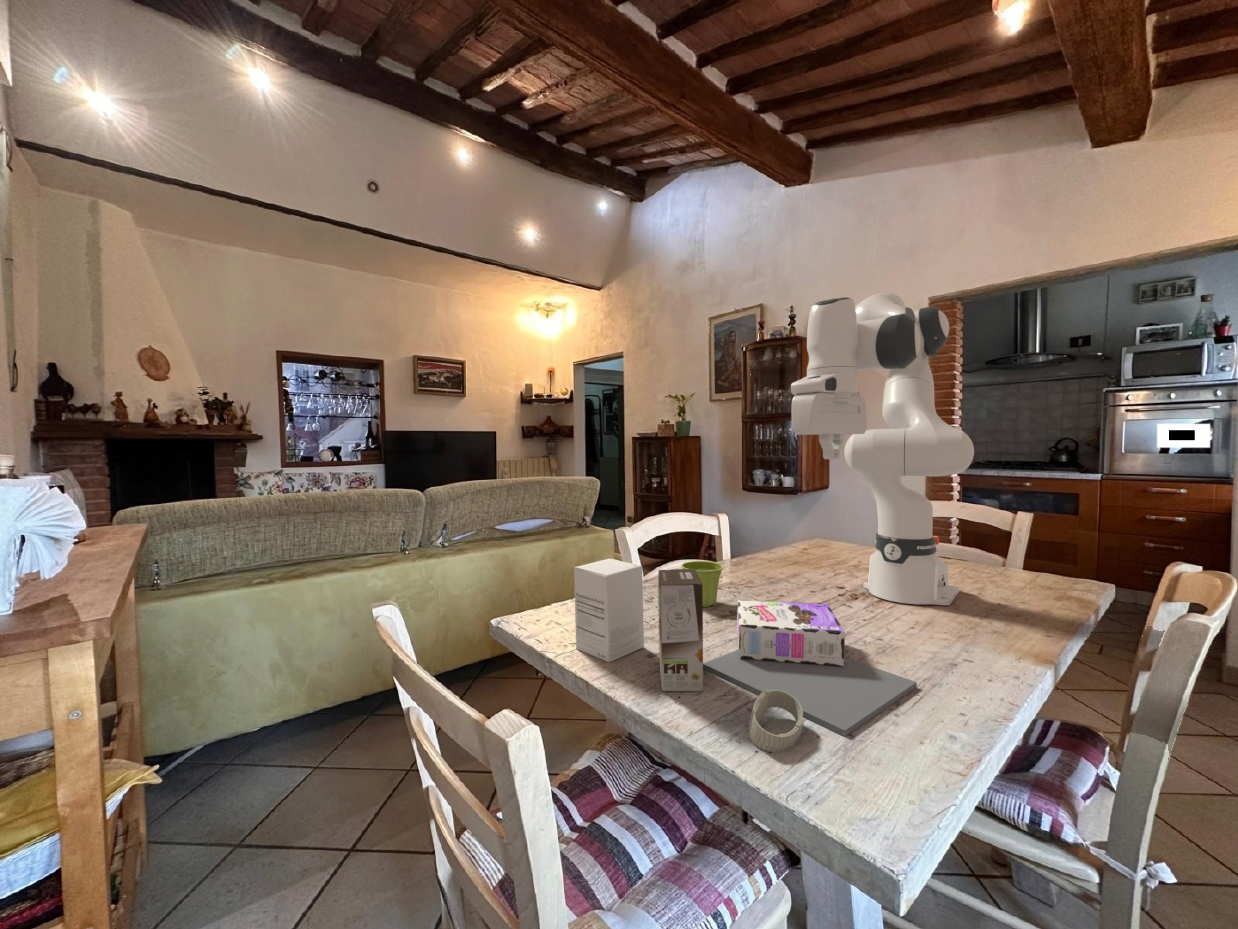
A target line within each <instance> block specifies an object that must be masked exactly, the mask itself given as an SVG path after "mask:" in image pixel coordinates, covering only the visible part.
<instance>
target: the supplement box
mask: <svg viewBox="0 0 1238 929" xmlns="http://www.w3.org/2000/svg"><path fill="white" fill-rule="evenodd" d="M573 571H574V572H573V573H574V574H573V576H574V577H573V579H574V609H575V613H574V614H575V616H574V617H575V649H577V650H578V651H580V652H583V653H586V654H587V655H591V656H592V657H595V658H596V659H599V660H602V661H604V662H607V663H611V662H614V661H616V660H618V659H620V658H623V657H625V656H627V655H629V654H631V653H633V652H636V651H638V650H641V649H643V648H644V647H645V634H644V633H645V632H644V631H645V629H644V589H643V588H644V586H643V584H644V583H643V566H642V565H640V564H637V563H630V562H625V561H622V560H617V559H615V558H607V559H603V560H602V559H601V560H597V561H594V562H589V563H586V564H582V565H579V566H578V565H577V566H574V567H573Z"/></svg>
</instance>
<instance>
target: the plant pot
mask: <svg viewBox="0 0 1238 929" xmlns="http://www.w3.org/2000/svg"><path fill="white" fill-rule="evenodd" d="M680 568H681V569H695V570H696V571H697V574H698V576H699V578H700V580H701V582H702V584H703V585H702V593H703V608H708V607H710V606H716V604H717V599H718V589H719V582H720V577H721V575H722V570H723V569H724V565H723V564H721V563H719V562H714V561H706V560H693V561H686V562H683V563H681V564H680Z"/></svg>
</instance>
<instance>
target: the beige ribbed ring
mask: <svg viewBox="0 0 1238 929" xmlns="http://www.w3.org/2000/svg"><path fill="white" fill-rule="evenodd" d="M770 708H779V709H782V710H784V711H786V712H788V713H790V714H791V716H793V718H794V720H795V725H794V727H793V728H792V729H791V730H789V731H788V732H785V733H778V734H774V733H770V732H769V731H768V730H766V729H765V728H763V727H762V726H761V725H760V722H762V719H763V716H764V714H765V712H766V710H768V709H770ZM804 723H805V719H804V717H803V710H802V707H801V705H800V703H799V702H798V700H796V698H794V697H793V696H792V695H790V694H788V693H787V692H784V691H781V690H770V691H768V690H764V691H762V692H761V694H760V695H758V697H756V700H755V701H754V703H753V706H752V711H751V715H750V719H749V723H748V724H749V725H748V726H747V731H748V736H749V738H750V740H751V742H752V743H753V744H754V745H755V746H756V747H757V748H759V749H761V750H763V751H766V752H771V753H777V752H778V753H779V752H783V751H786V750H788V749H790V748H791V747H793V745H795V743H796V742H797V740H799V738H800V737H801V735H802V731H803V728H804Z"/></svg>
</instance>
